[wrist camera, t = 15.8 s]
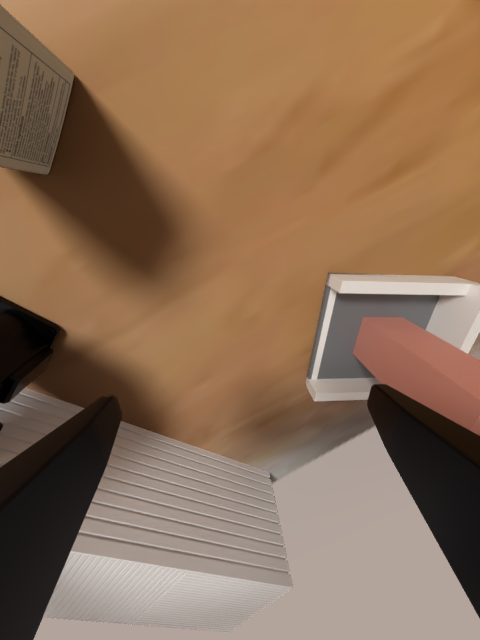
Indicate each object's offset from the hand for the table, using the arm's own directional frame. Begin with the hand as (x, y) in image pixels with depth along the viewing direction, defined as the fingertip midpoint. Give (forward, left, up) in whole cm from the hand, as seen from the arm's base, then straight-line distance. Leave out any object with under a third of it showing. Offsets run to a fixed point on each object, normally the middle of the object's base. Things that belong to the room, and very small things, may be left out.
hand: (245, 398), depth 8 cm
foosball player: (+14, +5, -13) cm, 20 cm away
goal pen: (+14, +5, -13) cm, 20 cm away
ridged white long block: (+4, -23, -13) cm, 27 cm away
